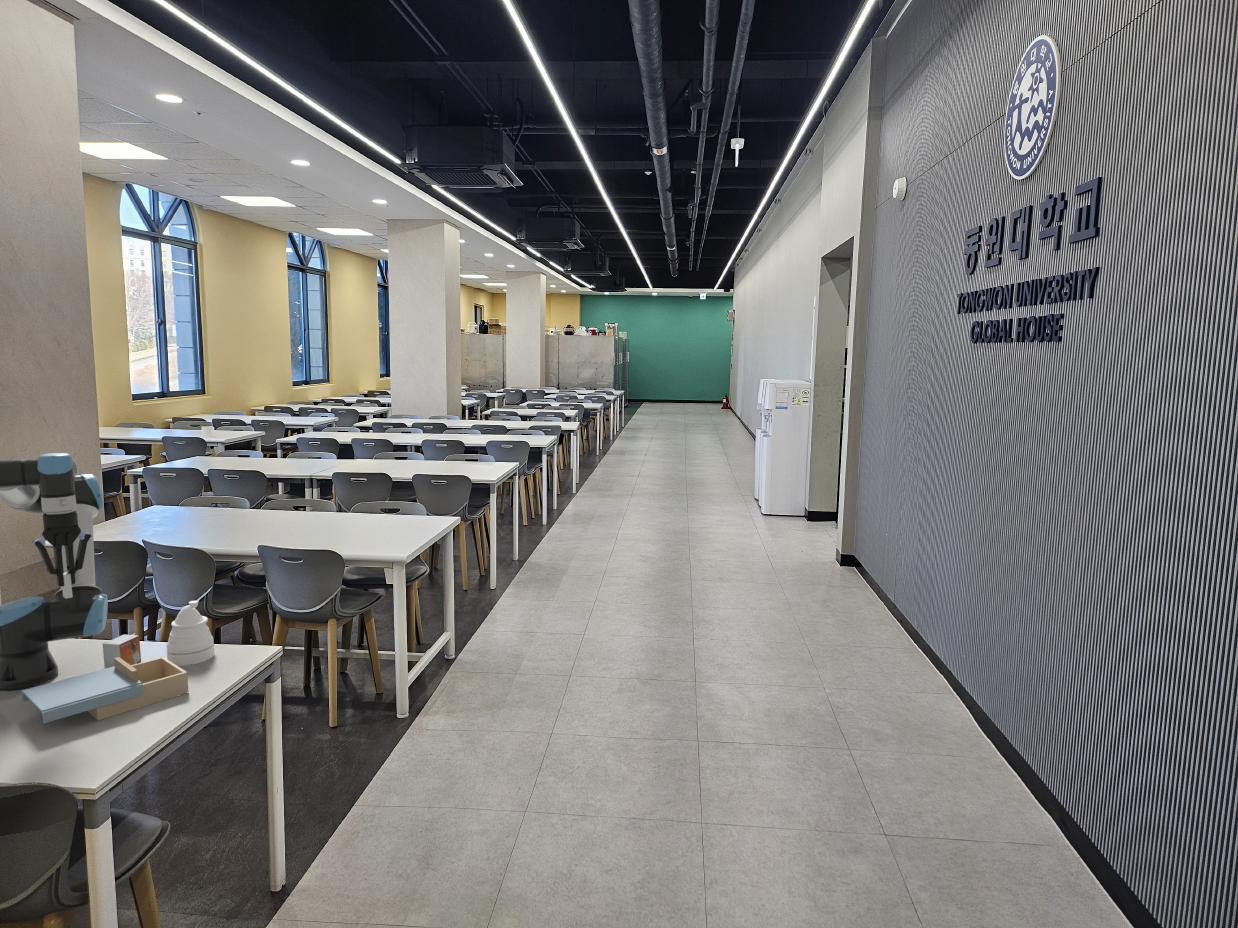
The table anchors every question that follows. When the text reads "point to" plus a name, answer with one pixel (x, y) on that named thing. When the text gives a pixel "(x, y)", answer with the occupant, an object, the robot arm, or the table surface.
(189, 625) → the honey pot
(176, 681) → the tray
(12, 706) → the table surface
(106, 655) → the small box
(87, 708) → the lid
